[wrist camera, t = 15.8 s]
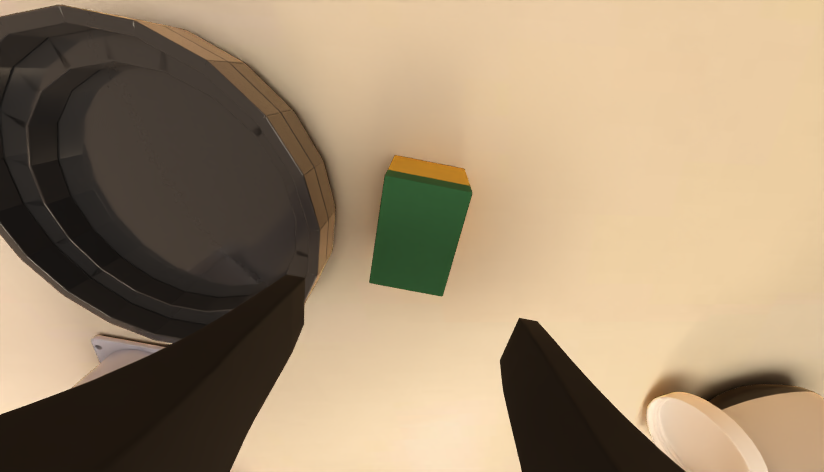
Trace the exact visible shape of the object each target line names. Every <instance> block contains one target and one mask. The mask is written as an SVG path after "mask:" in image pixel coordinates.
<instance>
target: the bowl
mask: <svg viewBox="0 0 824 472" xmlns="http://www.w3.org/2000/svg"><path fill="white" fill-rule="evenodd" d="M335 209H336V208H335V204H334V200H333V196H332V192H331V188H330V185H329V181H328V177H327V173H326V169H325V165H324V162H323V159H322V158H321V156H320V154H319V153H318V151H317V149H316V148H315V146H314V144H313V143H312V141H311V139H310V137H309V136H308V134H307V132H306V131H305V129H304V127H303V126H302V124H301V122H300V121H299V119H298V117H297V116H296V114H295V112H294V111H293V110H292V109H291V108H290V107H289V106H288V105H287V104H286V103H285V102H284V101H283V100H282V99H281V98H280V97H279V96H278V95H277V94H276V93H275V92H274V91H273V90H272V89H271V88H270V87H269V86H268V85H267V84H266V83H265V82H264V81H263V80H262V79H261V78H260V77H259V76H258V75H257V74H256V73H255V72H254V71H253V70H252V69H251V68H250V67H248V66H247V65H246V64H245V63H244V62H243V61H241V60H239V59H237V58H235V57H234V56H232V55H230V54H228V53H227V52H225V51H223V50H221V49H219V48H218V47H216V46H214V45H212V44H211V43H209V42H207V41H205V40H203V39H202V38H200V37H198V36H196V35H195V34H193V33H191V32H189V31H187V30H185V29H181V28H176V27H171V26H166V25H161V24H157V23H152V22H147V21H142V20H137V19H133V18H128V17H123V16H118V15H113V14H107V13H102V12H97V11H92V10H87V9H82V8H76V7H71V6H66V5H55V6H50V7H45V8H40V9H35V10H30V11H25V12H20V13H15V14H10V15H5V16H0V235H1V236H2V237H3V238H4V240H5V241H6V242H7V243H8V245H9V246H10V247H11V248H12V249H13V251H14V252H15V253H16V254H17V256H18V257H19V258H21V260H22V261H24V262H25V263H26V264H27V265H28V266H29V267H31V268H32V269H33V270H34V271H35V272H36V273H38V274H39V275H40V276H41V277H42V278H44V279H45V280H46V281H47V282H48V283H49V284H51V285H52V286H53V287H54V288H55V289H56V290H58V291H59V292H60V293H61V294H63V295H64V296H65V297H67V298H69V299H70V300H72V301H74V302H75V303H77V304H79V305H80V306H82V307H84V308H85V309H87V310H89V311H90V312H92V313H94V314H96V315H97V316H99V317H101V318H102V319H104V320H106V321H107V322H109V323H111V324H114V325H117V326H119V327H122V328H124V329H127V330H130V331H132V332H135V333H137V334H140V335H143V336H145V337H148V338H150V339H153V340H157V341H163V342H168V343H175V342H177V341H179V340H181V339H183V338H185V337H187V336H189V335H190V334H192V333H194V332H196V331H198V330H199V329H201V328H203V327H205V326H206V325H208V324H210V323H211V322H213V321H215V320H217V319H218V318H220V317H222V316H223V315H225V314H227V313H228V312H230V311H231V310H233V309H235V308H236V307H238V306H239V305H241V304H242V303H244V302H245V301H247V300H249V299H250V298H252V297H253V296H255V295H256V294H258V293H259V292H261V291H262V290H264V289H265V288H267V287H268V286H270V285H271V284H273V283H274V282H276V281H277V280H279V279H280V278H282V277H283V276H285V275H287V274H288V275H293V276H298V277H304V278H305V302H304V305H305V303H306V301H307V299H308V297H309V296H310V294H311V292H312V290H313V289H314V287H315V285H316V283H317V282H318V280H319V278H320V275H321V273H322V271H323V269H324V267H325V265H326V263H327V261H328V259H329V257H330V255H331V253H332V250H333V239H334V225H335V212H336V210H335Z"/></svg>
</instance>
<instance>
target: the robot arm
mask: <svg viewBox="0 0 824 472" xmlns="http://www.w3.org/2000/svg"><path fill="white" fill-rule="evenodd" d="M304 302H305V278H304V277H298V276H293V275H288V274H287V275H285V276H283V277H282V278H280V279H279V280H277V281H276V282H274V283H273V284H271V285H270V286H268V287H267V288H265V289H264V290H262V291H261V292H259V293H258V294H256V295H255V296H253V297H252V298H250V299H249V300H247V301H245V302H244V303H242V304H241V305H239V306H238V307H236V308H235V309H233V310H231V311H230V312H228V313H227V314H225V315H223V316H222V317H220V318H218V319H217V320H215V321H213V322H211V323H210V324H208V325H206V326H205V327H203V328H201V329H199V330H198V331H196V332H194V333H192V334H190V335H189V336H187V337H185V338H183V339H181V340H179V341H177V342H175V343H173V344H171V345H169V346H167V347H163V346H157V345H151V344H146V343H140V342H135V341H129V340H123V339H118V338H112V337H107V336H101V335H96V336H94V337H93V338H92V339H91V343H92V345H93V347H94V350H95V352H96V355H97V357H98V359H99V362H100V364H99V365H97V366H96V367H95V368H94V369H93V370H92V371H90V372H89V373H88V374H87V375H86V376H85V377H83V378H82V379H81V380H80V381H79V382H78V383H76V384H75V385H74V386H73V387H72V388H71V389H69V390H66V391H64V392H61V393H59V394H56V395H53V396H50V397H48V398H45V399H42V400H40V401H37V402H34V403H32V404H29V405H26V406H23V407H21V408H18V409H15V410H12V411H9V412H6V413H4V414H1V415H0V472H230V470H231V468H232V466H233V463H234V461H235V459H236V457H237V455H238V452H239V450H240V448H241V446H242V444H243V441H244V439H245V437H246V435H247V433H248V431H249V429H250V427H251V425H252V423H253V421H254V419H255V418H256V416H257V414H258V412H259V411H260V409H261V407H262V405H263V404H264V402H265V400H266V398H267V396H268V395H269V393H270V391H271V389H272V388H273V386H274V384H275V382H276V381H277V379H278V377H279V375H280V373H281V372H282V370H283V368H284V366H285V364H286V363H287V361H288V359H289V357H290V355H291V354H292V352H293V349H294V347H295V345H296V342H297V340H298V337H299V335H300V333H301V330H302V328H303V325H304ZM500 366H501V377H502V385H503V392H504V397H505V401H506V406H507V410H508V414H509V419H510V423H511V427H512V431H513V436H514V440H515V444H516V448H517V452H518V457H519V461H520V465H521V470H522V472H686V471H685V470H683V469H682V468H681V467H680V466H679V465H677V464H676V463H675V462H674V461H673V460H672V459H670V458H669V457H668V456H667V455H666V454H665V453H664V452H662V451H661V450H660V449H659V448H658V447H657V446H656V445H655V444H653V443H652V442H651V441H650V440H649V439H648V438H647V437H646V436H645V435H644V434H643V433H642V432H641V431H639V430H638V429H637V428H636V427H635V426H634V425H633V424H632V423H631V422H630V421H629V420H628V419H627V418H626V417H625V416H624V415H623V414H622V413H621V412H620V411H619V410H618V409H617V408H616V407H615V406H614V405H613V404H612V403H611V402H610V401H609V400H608V399H607V398H606V397H605V396H604V395H603V394H602V393H601V392H600V391H599V390H598V389H597V388H596V387H595V386H594V384H593V383H592V382H591V381H590V380H589V379H588V378H587V377H586V376H585V375H584V374H583V372H582V371H581V370H580V369H579V368H578V367H577V366H576V365H575V364H574V362H573V361H572V360H571V359H570V358H569V357H568V356H567V354H566V353H565V352H564V351H563V350H562V349H561V348H560V346H559V345H558V344H557V343H556V342H555V341H554V339H553V338H552V337H551V336H550V335H549V334H548V333H547V332H546V330H545V329H544V328H543V327H542V326H541V325H540V324H539V323H538V322H537V321H533V320H527V319H522V318H519V320H518V322H517V324H516V326H515V328H514V330H513V333H512V335H511V337H510V339H509V341H508V344H507V346H506V348H505V350H504V352H503V355H502V357H501V359H500Z"/></svg>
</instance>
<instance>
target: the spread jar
mask: <svg viewBox="0 0 824 472" xmlns="http://www.w3.org/2000/svg"><path fill="white" fill-rule="evenodd" d="M646 420H647V426H648V430H649V433H650V435H651V438H652V440H653V442H654V444H655V445H656V446H657V447H658V448H659V449H660V450H661V451H662V452H664V453H665V454H666V455H667V456H668V457H669V458H670V459H672V460H673V461H674V462H675V463H676V464H677V465H679V466H680V467H681V468H682V469H683V470H685V471H686V472H824V398H823V397H822V396H820V395H818V394H817V393H815V392H813V391H810V390H808V389H805V388H802V387H797V386H792V385H781V384H752V385H746V386H741V387H737V388H734V389H731V390H728V391H726V392H724V393H721V394H719V395H718V396H716V397H714V398H713V399H711V400H710V401H706V400H704V399H702V398H700V397H698V396H695V395H692V394H689V393H684V392H672V393H669V394H666V395H663V396H660V397H657V398H655V399H653V400H652V401H651V402H650V403H649V405H648V407H647V412H646Z"/></svg>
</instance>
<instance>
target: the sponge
mask: <svg viewBox="0 0 824 472" xmlns="http://www.w3.org/2000/svg"><path fill="white" fill-rule="evenodd" d="M471 196H472V190H471V187H470V184H469V181H468V178H467V175H466V172H465V169H462V168H457V167H452V166H447V165H442V164H437V163H432V162H427V161H422V160H417V159H412V158H407V157H402V156H397V155H395V156H394V158H393V160H392V162H391V164H390V166H389V168H388V170H387V172H386V174H385V177H384V184H383V191H382V198H381V205H380V212H379V219H378V226H377V233H376V239H375V246H374V253H373V260H372V267H371V274H370V281H369V283H372V284H378V285H383V286H389V287H394V288H399V289H405V290H410V291H415V292H421V293H426V294H431V295H437V296H443V293H444V290H445V286H446V283H447V279H448V276H449V272H450V269H451V265H452V262H453V259H454V255H455V252H456V248H457V245H458V241H459V238H460V234H461V231H462V227H463V224H464V221H465V217H466V214H467V210H468V207H469V203H470V200H471Z"/></svg>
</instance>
